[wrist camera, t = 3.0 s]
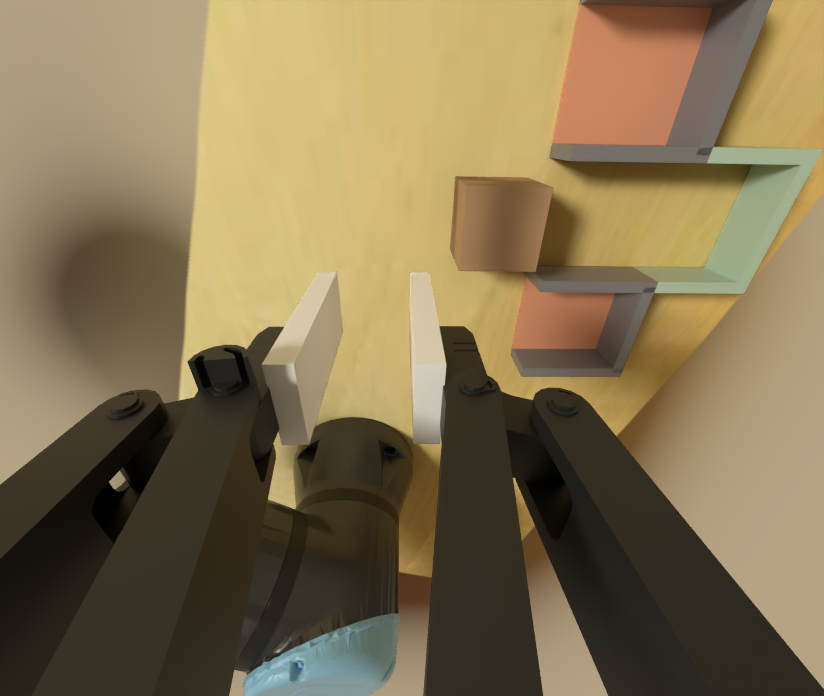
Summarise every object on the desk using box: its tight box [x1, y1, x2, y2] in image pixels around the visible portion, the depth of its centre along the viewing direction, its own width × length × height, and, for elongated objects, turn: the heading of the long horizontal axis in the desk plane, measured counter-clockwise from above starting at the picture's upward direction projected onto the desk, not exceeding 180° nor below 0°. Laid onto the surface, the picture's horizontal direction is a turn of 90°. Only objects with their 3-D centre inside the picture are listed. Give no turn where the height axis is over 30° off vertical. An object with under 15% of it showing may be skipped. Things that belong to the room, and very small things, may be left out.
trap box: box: [511, 0, 823, 377], centre depth 29 cm, size 18×29×4 cm, turn 179°
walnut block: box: [450, 176, 553, 272], centre depth 28 cm, size 6×6×6 cm
